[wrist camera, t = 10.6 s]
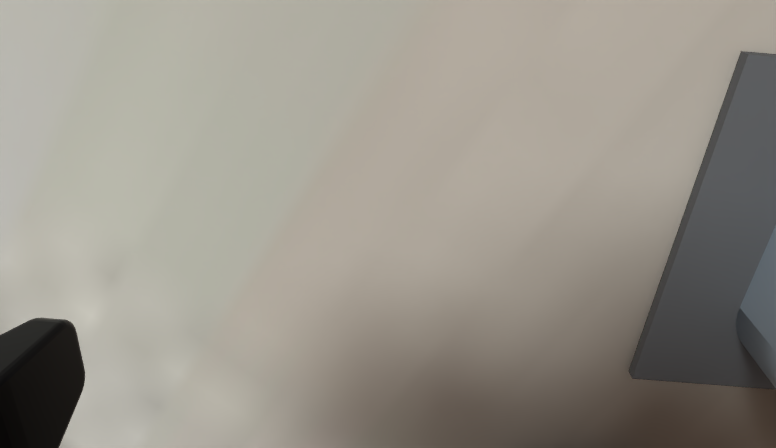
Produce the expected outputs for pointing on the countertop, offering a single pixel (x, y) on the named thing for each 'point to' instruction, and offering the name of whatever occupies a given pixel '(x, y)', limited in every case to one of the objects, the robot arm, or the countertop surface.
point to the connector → (761, 313)
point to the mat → (718, 244)
